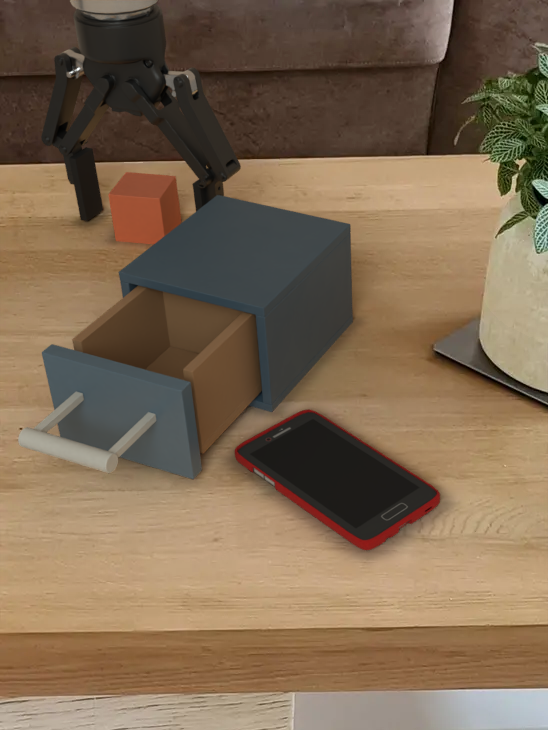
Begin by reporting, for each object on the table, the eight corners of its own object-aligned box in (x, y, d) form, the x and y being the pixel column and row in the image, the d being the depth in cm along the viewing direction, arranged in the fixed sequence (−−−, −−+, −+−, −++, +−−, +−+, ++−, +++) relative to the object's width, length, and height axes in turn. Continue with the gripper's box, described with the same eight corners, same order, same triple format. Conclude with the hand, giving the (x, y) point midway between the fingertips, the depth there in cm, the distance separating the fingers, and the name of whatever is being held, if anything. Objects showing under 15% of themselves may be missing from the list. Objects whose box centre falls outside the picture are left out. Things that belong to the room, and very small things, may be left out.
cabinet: (272, 413, 91) (263, 308, 85) (135, 375, 95) (118, 271, 89) (353, 322, 102) (350, 223, 96) (227, 291, 106) (217, 194, 100)
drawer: (144, 533, 79) (128, 442, 74) (5, 489, 82) (-19, 399, 77) (283, 381, 93) (278, 296, 88) (161, 348, 96) (149, 265, 92)
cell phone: (366, 556, 79) (366, 546, 78) (229, 459, 86) (228, 448, 86) (445, 503, 83) (445, 493, 83) (308, 415, 91) (308, 405, 90)
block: (115, 242, 112) (107, 194, 109) (132, 218, 116) (125, 171, 113) (166, 246, 112) (159, 198, 109) (181, 222, 116) (176, 175, 113)
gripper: (265, 13, 100) (282, 236, 113) (25, -25, 107) (67, 189, 120) (220, 40, 94) (243, 271, 107) (-30, -2, 101) (20, 220, 115)
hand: (150, 228), depth 114 cm, fingers open, 13 cm apart
